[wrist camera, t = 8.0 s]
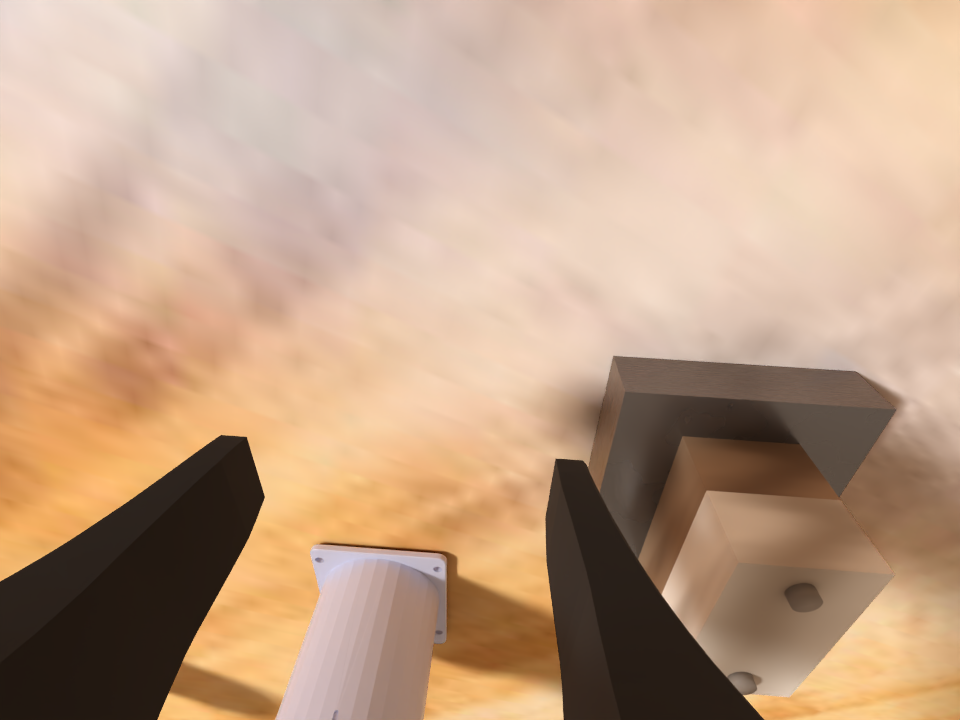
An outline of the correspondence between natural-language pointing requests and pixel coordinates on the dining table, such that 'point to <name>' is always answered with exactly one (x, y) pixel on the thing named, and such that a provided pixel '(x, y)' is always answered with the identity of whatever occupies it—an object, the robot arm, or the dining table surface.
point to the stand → (722, 424)
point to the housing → (759, 560)
